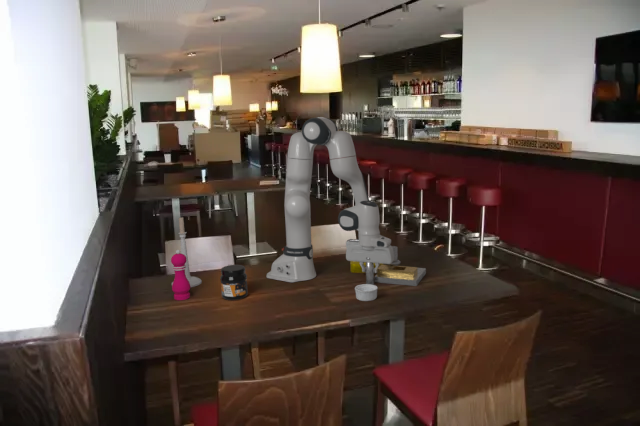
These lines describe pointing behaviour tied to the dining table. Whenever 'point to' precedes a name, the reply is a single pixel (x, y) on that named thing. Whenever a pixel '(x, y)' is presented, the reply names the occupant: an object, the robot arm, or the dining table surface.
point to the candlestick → (192, 280)
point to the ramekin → (366, 292)
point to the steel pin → (369, 272)
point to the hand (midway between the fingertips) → (369, 272)
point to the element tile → (358, 267)
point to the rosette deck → (399, 273)
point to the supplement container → (233, 282)
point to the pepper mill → (180, 277)
